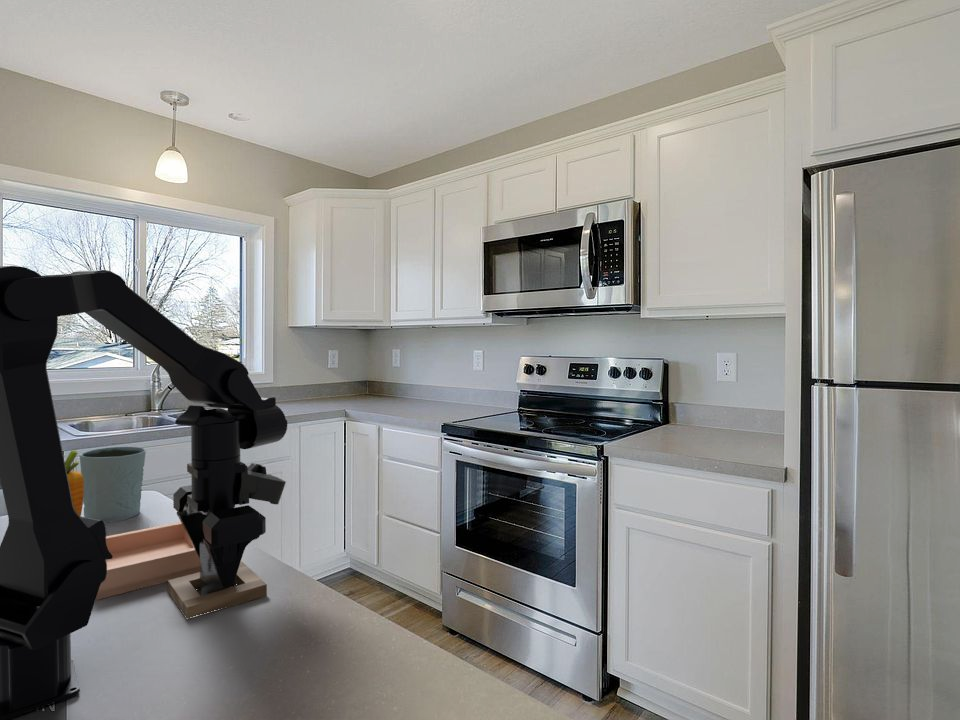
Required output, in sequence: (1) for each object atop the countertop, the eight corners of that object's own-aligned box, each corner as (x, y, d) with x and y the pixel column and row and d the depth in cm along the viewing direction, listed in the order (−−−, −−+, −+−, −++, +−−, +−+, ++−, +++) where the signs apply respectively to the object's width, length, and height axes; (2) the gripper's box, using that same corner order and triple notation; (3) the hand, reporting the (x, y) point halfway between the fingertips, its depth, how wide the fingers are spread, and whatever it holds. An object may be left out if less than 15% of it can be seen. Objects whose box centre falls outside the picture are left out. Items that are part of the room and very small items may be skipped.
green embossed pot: (74, 515, 101) (73, 451, 100) (136, 503, 108) (136, 443, 108) (88, 528, 94) (87, 460, 93) (153, 515, 101) (153, 451, 101)
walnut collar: (266, 595, 70) (266, 584, 70) (186, 619, 64) (186, 607, 64) (242, 571, 77) (242, 561, 77) (167, 591, 71) (167, 580, 71)
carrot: (40, 544, 86) (38, 451, 86) (75, 534, 91) (74, 446, 90) (56, 550, 84) (55, 454, 83) (91, 540, 88) (90, 449, 88)
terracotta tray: (214, 569, 78) (214, 545, 78) (96, 599, 69) (96, 572, 69) (188, 541, 89) (188, 520, 88) (83, 564, 79) (83, 540, 79)
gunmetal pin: (238, 594, 71) (238, 541, 70) (205, 604, 68) (204, 549, 68) (228, 584, 74) (228, 533, 73) (196, 592, 71) (195, 540, 71)
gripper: (306, 460, 69) (306, 581, 69) (254, 438, 82) (254, 539, 83) (212, 474, 61) (213, 609, 62) (171, 447, 75) (172, 558, 76)
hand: (216, 574), depth 71 cm, fingers open, 9 cm apart
